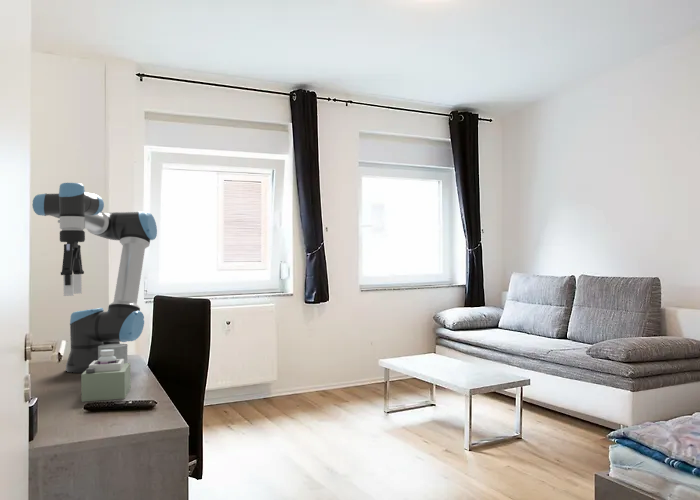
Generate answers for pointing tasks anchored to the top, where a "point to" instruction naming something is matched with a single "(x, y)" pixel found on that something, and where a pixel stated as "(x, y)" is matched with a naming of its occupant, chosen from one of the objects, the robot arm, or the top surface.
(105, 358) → the pill bottle
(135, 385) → the top surface
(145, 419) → the top surface
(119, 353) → the speckled grey cylinder
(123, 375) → the green open box
